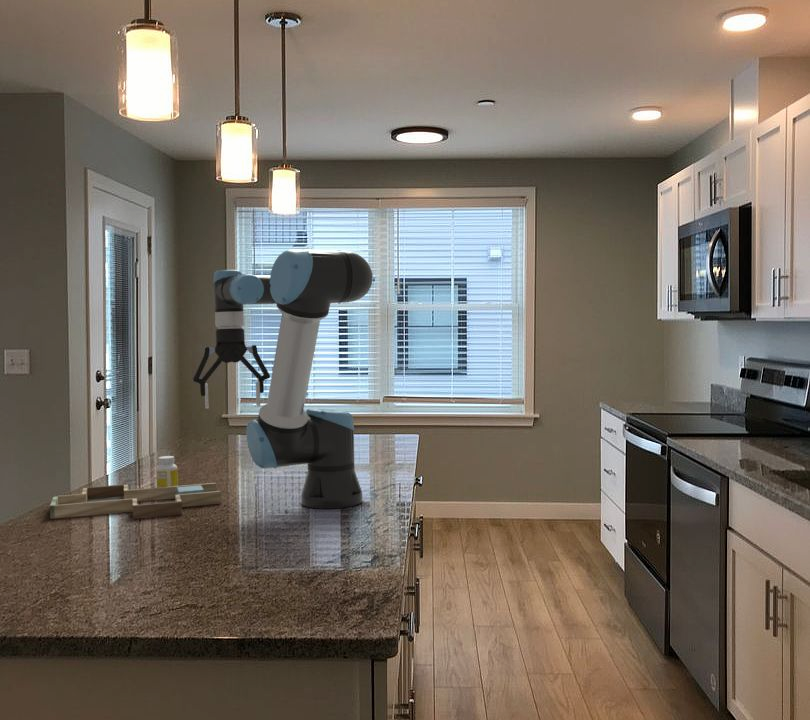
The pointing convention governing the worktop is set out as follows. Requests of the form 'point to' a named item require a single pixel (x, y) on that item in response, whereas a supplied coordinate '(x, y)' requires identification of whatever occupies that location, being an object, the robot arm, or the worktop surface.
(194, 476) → the worktop surface
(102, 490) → the wooden frame tray
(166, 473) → the supplement bottle
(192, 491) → the block
